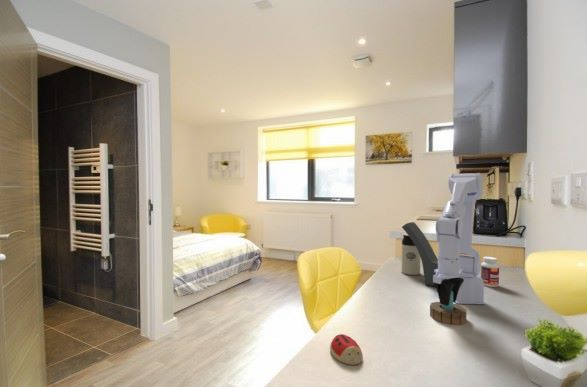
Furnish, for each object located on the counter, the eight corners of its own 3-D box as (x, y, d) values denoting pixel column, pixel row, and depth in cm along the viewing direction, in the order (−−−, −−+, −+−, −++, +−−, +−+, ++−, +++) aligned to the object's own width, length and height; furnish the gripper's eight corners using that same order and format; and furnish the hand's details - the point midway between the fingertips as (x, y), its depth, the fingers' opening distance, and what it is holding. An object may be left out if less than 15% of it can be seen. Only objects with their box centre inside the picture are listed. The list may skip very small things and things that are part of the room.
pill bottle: (492, 288, 119) (492, 260, 119) (477, 283, 125) (477, 256, 124) (502, 286, 121) (503, 258, 121) (487, 282, 127) (487, 255, 127)
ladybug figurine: (343, 369, 65) (343, 353, 65) (323, 347, 74) (323, 332, 74) (370, 364, 67) (370, 348, 67) (347, 342, 76) (347, 328, 76)
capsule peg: (450, 315, 93) (450, 289, 92) (455, 319, 90) (455, 293, 89) (440, 315, 93) (440, 289, 92) (444, 319, 90) (444, 293, 89)
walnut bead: (456, 311, 96) (456, 302, 96) (473, 325, 86) (473, 314, 86) (425, 310, 96) (425, 301, 96) (438, 324, 86) (438, 313, 86)
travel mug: (404, 269, 145) (404, 232, 145) (421, 272, 141) (422, 233, 140) (399, 273, 139) (399, 234, 139) (417, 276, 134) (418, 235, 134)
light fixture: (410, 275, 136) (410, 221, 135) (451, 284, 124) (452, 224, 123) (399, 280, 128) (399, 223, 128) (442, 290, 116) (443, 226, 116)
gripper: (446, 252, 98) (446, 294, 99) (423, 258, 90) (422, 304, 90) (470, 256, 93) (469, 300, 93) (447, 263, 84) (446, 312, 84)
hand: (448, 302), depth 91 cm, fingers open, 4 cm apart
